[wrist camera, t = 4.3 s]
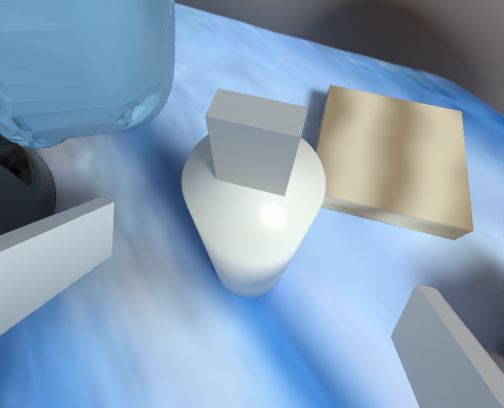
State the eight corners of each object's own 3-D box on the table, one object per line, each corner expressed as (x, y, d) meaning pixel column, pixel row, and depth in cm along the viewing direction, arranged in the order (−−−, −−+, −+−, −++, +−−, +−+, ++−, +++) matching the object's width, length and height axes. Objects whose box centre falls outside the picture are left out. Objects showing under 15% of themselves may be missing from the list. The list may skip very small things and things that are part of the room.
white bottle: (206, 286, 19) (118, 169, 6) (227, 224, 22) (197, 34, 8) (274, 306, 19) (346, 226, 6) (289, 240, 21) (366, 66, 8)
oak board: (303, 202, 23) (308, 191, 21) (324, 101, 28) (330, 85, 26) (454, 240, 21) (473, 231, 20) (446, 126, 27) (461, 111, 25)
